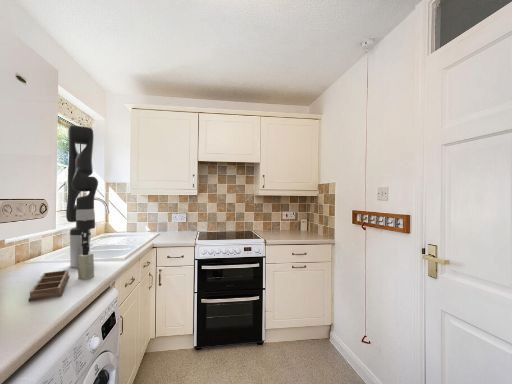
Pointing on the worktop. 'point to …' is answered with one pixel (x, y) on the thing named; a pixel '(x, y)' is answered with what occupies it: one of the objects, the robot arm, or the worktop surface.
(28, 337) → the worktop surface
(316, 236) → the worktop surface
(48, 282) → the tray
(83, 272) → the box
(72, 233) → the robot arm
